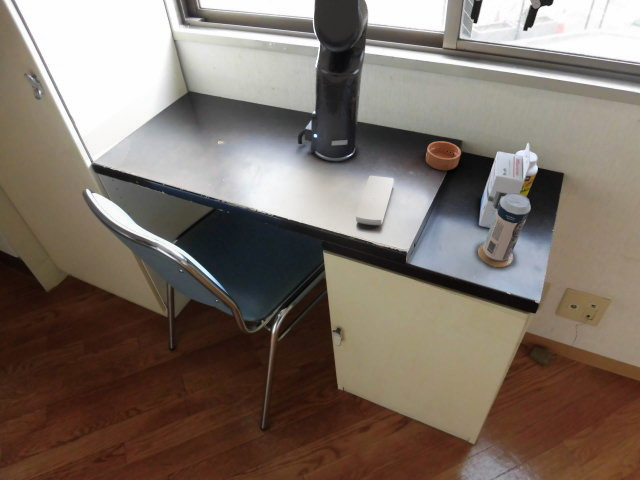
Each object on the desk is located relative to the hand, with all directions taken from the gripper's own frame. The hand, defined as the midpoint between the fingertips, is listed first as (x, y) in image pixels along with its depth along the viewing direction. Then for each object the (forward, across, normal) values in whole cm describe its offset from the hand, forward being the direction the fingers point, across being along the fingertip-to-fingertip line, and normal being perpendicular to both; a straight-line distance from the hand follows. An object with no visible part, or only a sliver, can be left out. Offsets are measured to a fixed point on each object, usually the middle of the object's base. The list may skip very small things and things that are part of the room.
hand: (500, 25), depth 83 cm
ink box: (+30, +8, -14) cm, 34 cm away
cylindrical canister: (+30, +10, -25) cm, 40 cm away
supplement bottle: (+30, +11, -7) cm, 33 cm away
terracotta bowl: (+30, -4, +1) cm, 30 cm away
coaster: (+30, +10, -25) cm, 40 cm away
